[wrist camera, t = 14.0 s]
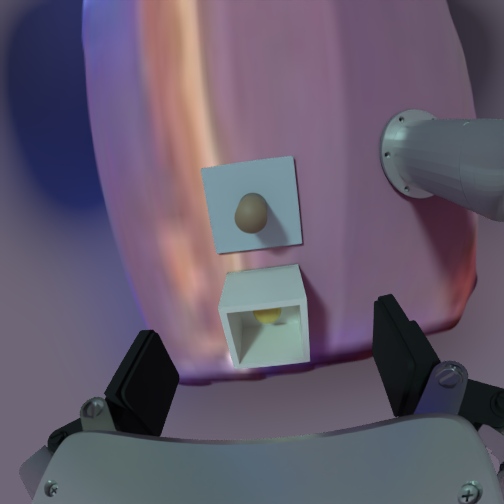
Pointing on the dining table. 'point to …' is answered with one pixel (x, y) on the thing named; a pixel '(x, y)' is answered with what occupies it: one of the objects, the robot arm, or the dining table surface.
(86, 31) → the dining table surface
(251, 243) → the lid
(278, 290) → the storage box
